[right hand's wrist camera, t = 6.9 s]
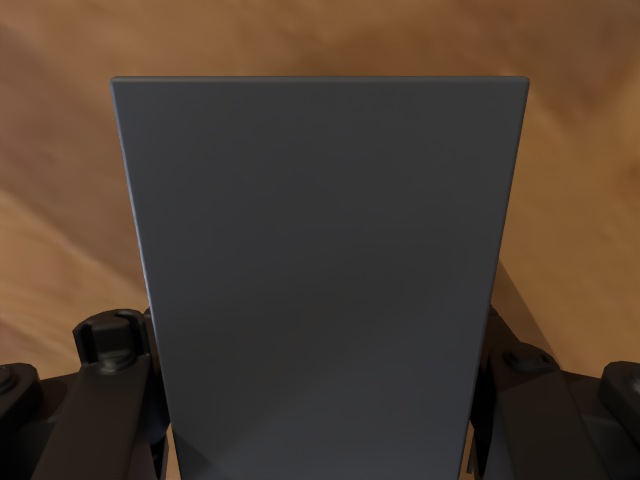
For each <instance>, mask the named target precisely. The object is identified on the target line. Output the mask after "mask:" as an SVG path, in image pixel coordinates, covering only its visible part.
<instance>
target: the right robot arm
mask: <svg viewBox="0 0 640 480" xmlns="http://www.w3.org/2000/svg"><path fill="white" fill-rule="evenodd" d="M72 332H73V335H74V339H75V343H76V346H77V350H78V354H79V358H80V361H81V365H82V366H81V368H80V370H79V372H76V373H73V374H69V375H64V376H59V377H54V378H49V379H44V380H40V379H39V376H38V373H37V369H36V368H35V367H33V366H32V365H31V364H25V363H13V364H5V365H0V480H165V479H166V470H167V461H168V452H169V445H168V439H167V434H166V431H167V429H168V426H169V424H170V422H171V421H170V416H169V410H168V405H167V399H166V394H165V388H164V382H163V377H162V371H161V366H160V360H159V355H158V349H157V344H156V338H155V333H154V327H153V322H152V316H151V311H150V306H149V309H147V310H146V311H145V312H144V314H142V313H141V312H139V311H137V310H132V309H115V310H110V311H105V312H101V313H99V314H96V315H94V316H91V317H89V318H87V319H86V320H84V321H82V322H81V323H79V324H78V325H77V326H76V328H75V329H74V330H73V331H72ZM470 421H471V424H472V426H473V428H474V434H473V439H472V444H471V450H470V455H469V460H468V466H467V472H466V473H470V474H472V470H473V469H474V478H475V480H640V363H634V362H626V361H618V362H611V363H609V364H608V365H607V366H605V368H604V371H603V374H602V377H601V379H600V378H595V377H590V376H585V375H580V374H575V373H570V372H567V371H563V370H560V367H559V365H558V364H557V363H556V361H555V360H554V359H553V357H552V356H550V355H549V354H547V353H546V352H545V351H543V350H542V349H539V348H537V347H535V346H533V345H530V344H527V343H523V342H520V341H519V340H518V339H517V337H516V336H515V335H514V333H513V332H512V331H511V330H510V328H509V327H508V326H507V324H506V323H505V322H504V320H503V319H502V318H501V317H500V316H499V314H498V313H497V311H496V310H495V309H494V308H492V305H491V304H490V308H489V313H488V319H487V325H486V330H485V336H484V341H483V347H482V353H481V358H480V364H479V369H478V375H477V380H476V386H475V392H474V397H473V403H472V408H471V414H470Z"/></svg>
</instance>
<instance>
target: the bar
mask: <svg viewBox="0 0 640 480" xmlns="http://www.w3.org/2000/svg"><path fill="white" fill-rule="evenodd" d="M529 85H530V83H529V79H528V78H526V77H524V76H116V77H114V78H112V79H110V89H111V95H112V100H113V106H114V111H115V117H116V122H117V128H118V133H119V139H120V145H121V150H122V156H123V161H124V167H125V172H126V178H127V183H128V189H129V194H130V200H131V205H132V211H133V216H134V222H135V228H136V233H137V239H138V244H139V250H140V255H141V261H142V266H143V272H144V277H145V283H146V288H147V294H148V299H149V305H150V311H151V316H152V322H153V327H154V333H155V338H156V344H157V349H158V355H159V360H160V366H161V371H162V377H163V382H164V388H165V394H166V399H167V405H168V410H169V416H170V421H171V427H172V432H173V438H174V443H175V449H176V454H177V460H178V465H179V471H180V477H181V480H459V475H460V470H461V464H462V459H463V453H464V447H465V442H466V436H467V431H468V425H469V420H470V414H471V408H472V403H473V397H474V392H475V386H476V380H477V375H478V369H479V364H480V358H481V353H482V347H483V341H484V336H485V330H486V325H487V319H488V313H489V308H490V302H491V297H492V291H493V286H494V280H495V274H496V269H497V263H498V258H499V252H500V246H501V241H502V235H503V230H504V224H505V219H506V213H507V207H508V202H509V196H510V191H511V185H512V180H513V174H514V168H515V163H516V157H517V152H518V146H519V140H520V135H521V129H522V124H523V118H524V113H525V107H526V101H527V96H528V90H529Z"/></svg>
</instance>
